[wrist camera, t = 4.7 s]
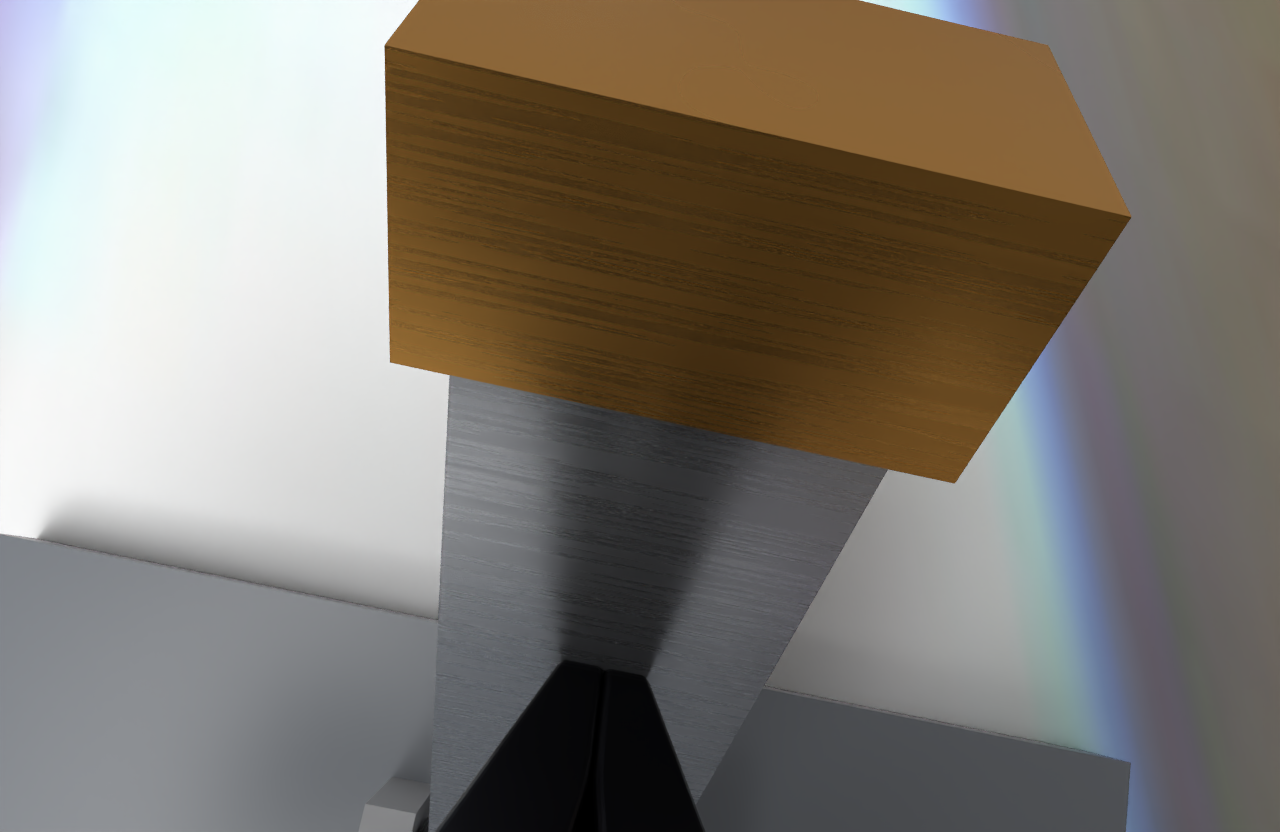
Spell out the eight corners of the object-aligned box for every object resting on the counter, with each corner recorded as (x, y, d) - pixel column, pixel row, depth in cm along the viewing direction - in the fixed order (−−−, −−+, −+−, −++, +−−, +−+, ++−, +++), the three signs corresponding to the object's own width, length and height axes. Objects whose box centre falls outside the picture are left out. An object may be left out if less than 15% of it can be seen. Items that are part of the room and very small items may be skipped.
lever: (619, 998, 15) (1152, 221, 4) (393, 957, 15) (363, 39, 4) (633, 872, 17) (1062, 48, 6) (428, 833, 17) (470, -93, 6)
